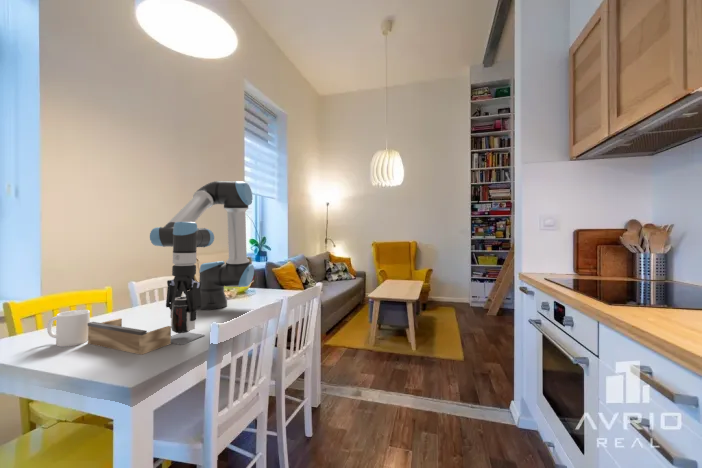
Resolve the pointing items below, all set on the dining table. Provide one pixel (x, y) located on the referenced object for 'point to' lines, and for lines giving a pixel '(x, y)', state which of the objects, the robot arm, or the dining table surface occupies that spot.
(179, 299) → the beverage can
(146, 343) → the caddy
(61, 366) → the dining table surface
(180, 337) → the mat
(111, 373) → the dining table surface
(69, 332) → the cup
